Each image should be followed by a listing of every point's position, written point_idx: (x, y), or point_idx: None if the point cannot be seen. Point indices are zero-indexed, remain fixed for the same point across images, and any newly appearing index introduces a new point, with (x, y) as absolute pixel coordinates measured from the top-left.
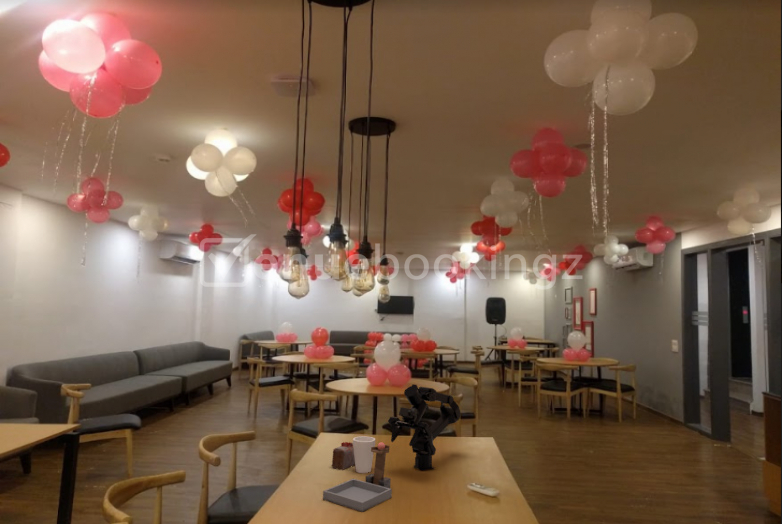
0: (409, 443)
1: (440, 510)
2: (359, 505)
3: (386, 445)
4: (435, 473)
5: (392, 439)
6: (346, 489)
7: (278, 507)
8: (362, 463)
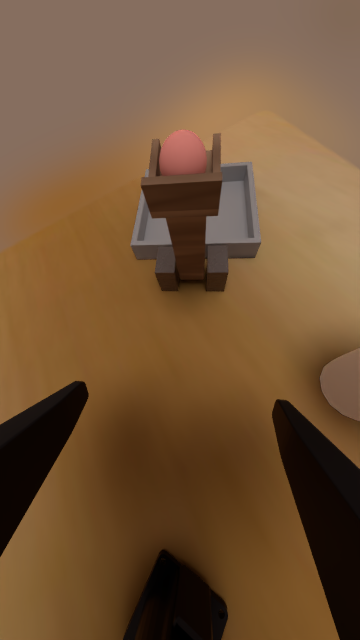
0: (77, 386)
1: (23, 264)
2: None
3: (159, 177)
4: (98, 554)
5: (282, 413)
6: (245, 227)
7: (277, 131)
8: (354, 350)
